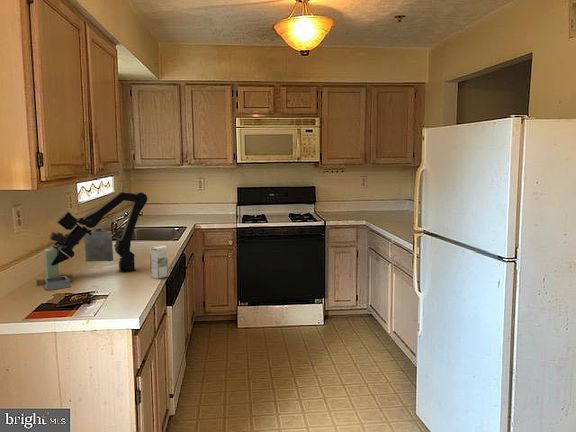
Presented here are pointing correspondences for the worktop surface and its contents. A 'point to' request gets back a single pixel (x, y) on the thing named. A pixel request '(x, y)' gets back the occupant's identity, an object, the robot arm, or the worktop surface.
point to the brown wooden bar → (41, 281)
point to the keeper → (56, 283)
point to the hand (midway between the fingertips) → (50, 263)
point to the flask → (99, 245)
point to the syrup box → (159, 261)
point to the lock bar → (49, 258)
